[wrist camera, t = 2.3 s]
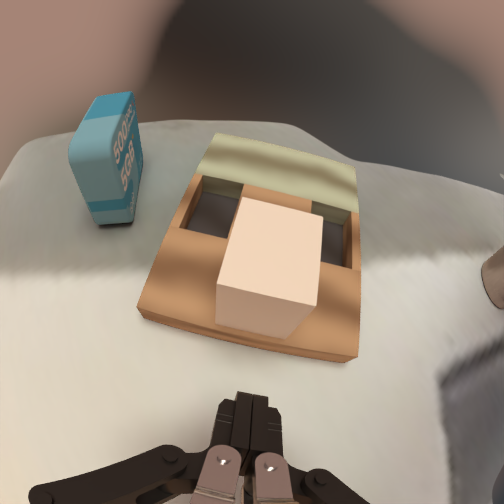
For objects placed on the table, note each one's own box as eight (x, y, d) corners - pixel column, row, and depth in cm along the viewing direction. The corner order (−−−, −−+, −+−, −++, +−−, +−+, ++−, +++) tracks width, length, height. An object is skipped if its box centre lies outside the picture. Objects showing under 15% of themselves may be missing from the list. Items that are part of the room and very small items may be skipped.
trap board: (344, 362, 25) (357, 356, 23) (143, 317, 25) (136, 306, 23) (347, 181, 39) (354, 167, 37) (215, 149, 39) (216, 132, 37)
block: (284, 339, 23) (316, 306, 16) (215, 323, 23) (216, 283, 16) (295, 269, 27) (323, 216, 20) (233, 254, 27) (242, 196, 20)
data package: (133, 228, 30) (108, 145, 20) (98, 230, 30) (64, 152, 19) (144, 160, 36) (133, 86, 26) (114, 163, 36) (98, 91, 26)
